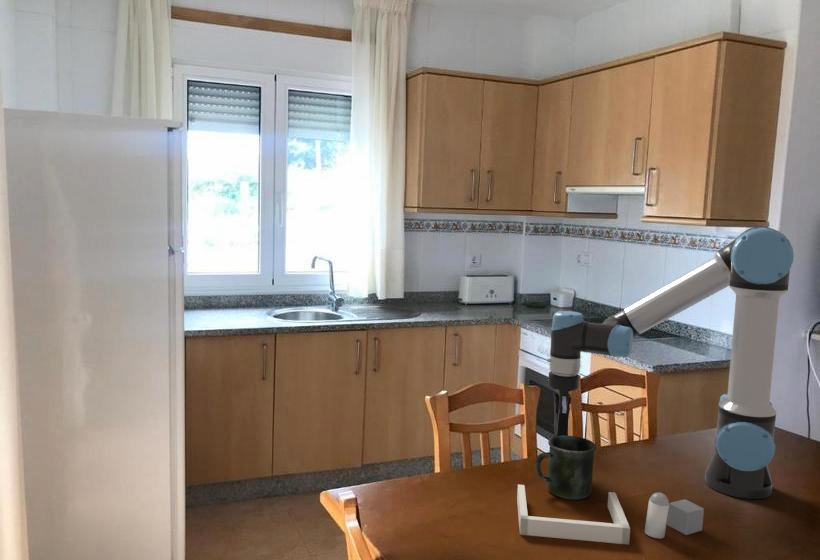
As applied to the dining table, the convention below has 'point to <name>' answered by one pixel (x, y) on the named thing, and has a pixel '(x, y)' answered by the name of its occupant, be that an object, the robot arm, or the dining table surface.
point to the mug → (568, 466)
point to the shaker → (657, 515)
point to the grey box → (685, 516)
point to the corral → (575, 524)
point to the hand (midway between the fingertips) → (558, 461)
